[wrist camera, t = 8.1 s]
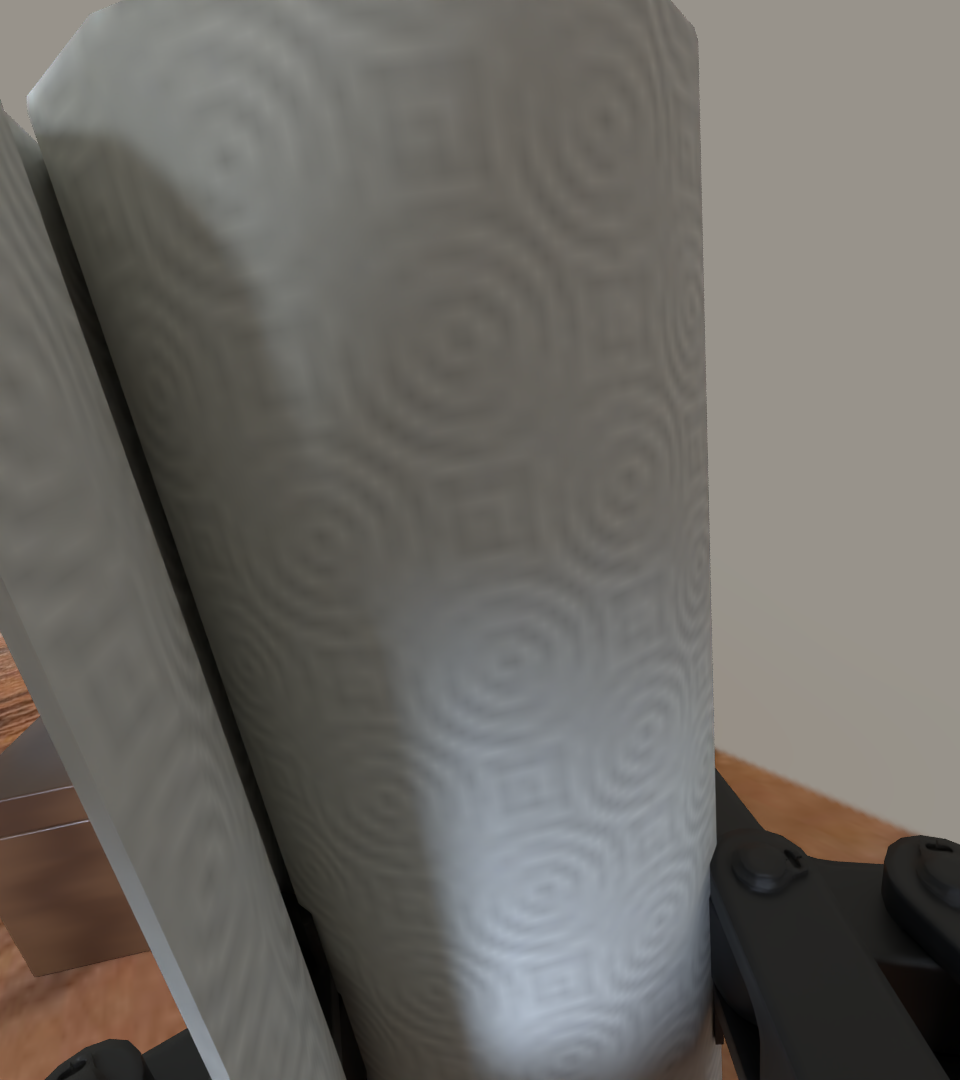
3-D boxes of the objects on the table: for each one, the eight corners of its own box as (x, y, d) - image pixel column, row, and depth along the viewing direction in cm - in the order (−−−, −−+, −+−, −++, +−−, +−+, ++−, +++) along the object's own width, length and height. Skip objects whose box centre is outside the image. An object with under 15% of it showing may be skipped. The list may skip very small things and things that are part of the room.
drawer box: (433, 707, 34) (408, 587, 31) (449, 880, 22) (413, 713, 20) (161, 764, 32) (113, 643, 30) (33, 978, 21) (-62, 813, 19)
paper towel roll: (559, 1029, 16) (430, 215, 10) (778, 1249, 12) (815, 30, 5) (345, 1315, 12) (-158, 188, 5) (565, 1830, 8) (-787, -1036, 1)
